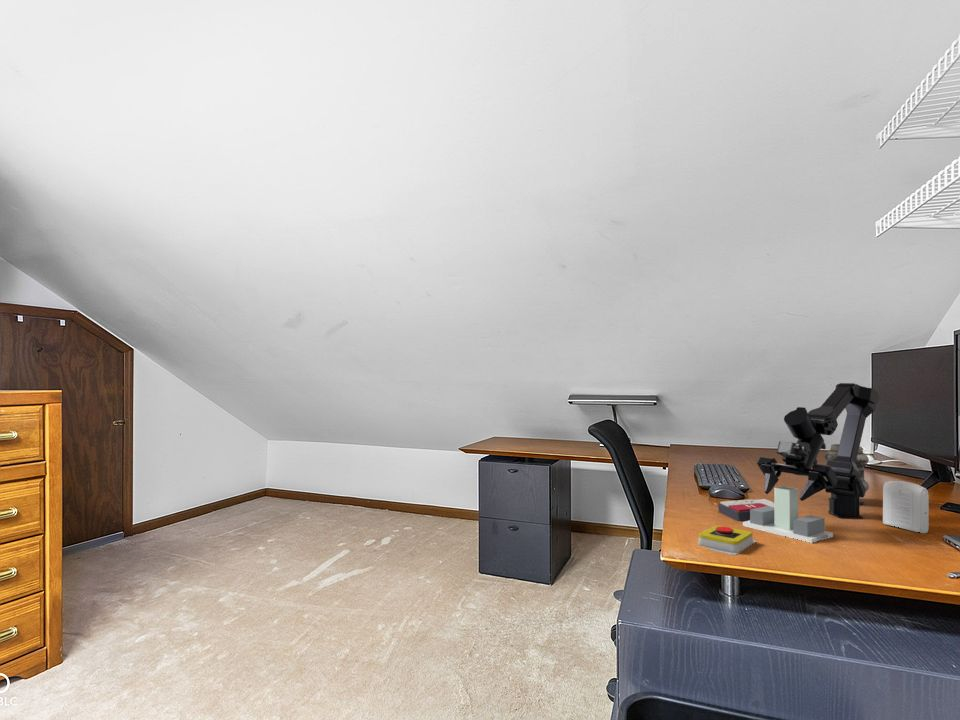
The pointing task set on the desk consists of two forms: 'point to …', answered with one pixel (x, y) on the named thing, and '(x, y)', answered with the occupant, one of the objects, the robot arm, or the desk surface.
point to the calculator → (742, 508)
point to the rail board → (802, 529)
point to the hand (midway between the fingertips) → (783, 496)
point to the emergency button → (726, 539)
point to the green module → (785, 506)
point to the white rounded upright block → (906, 506)
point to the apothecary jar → (860, 463)
